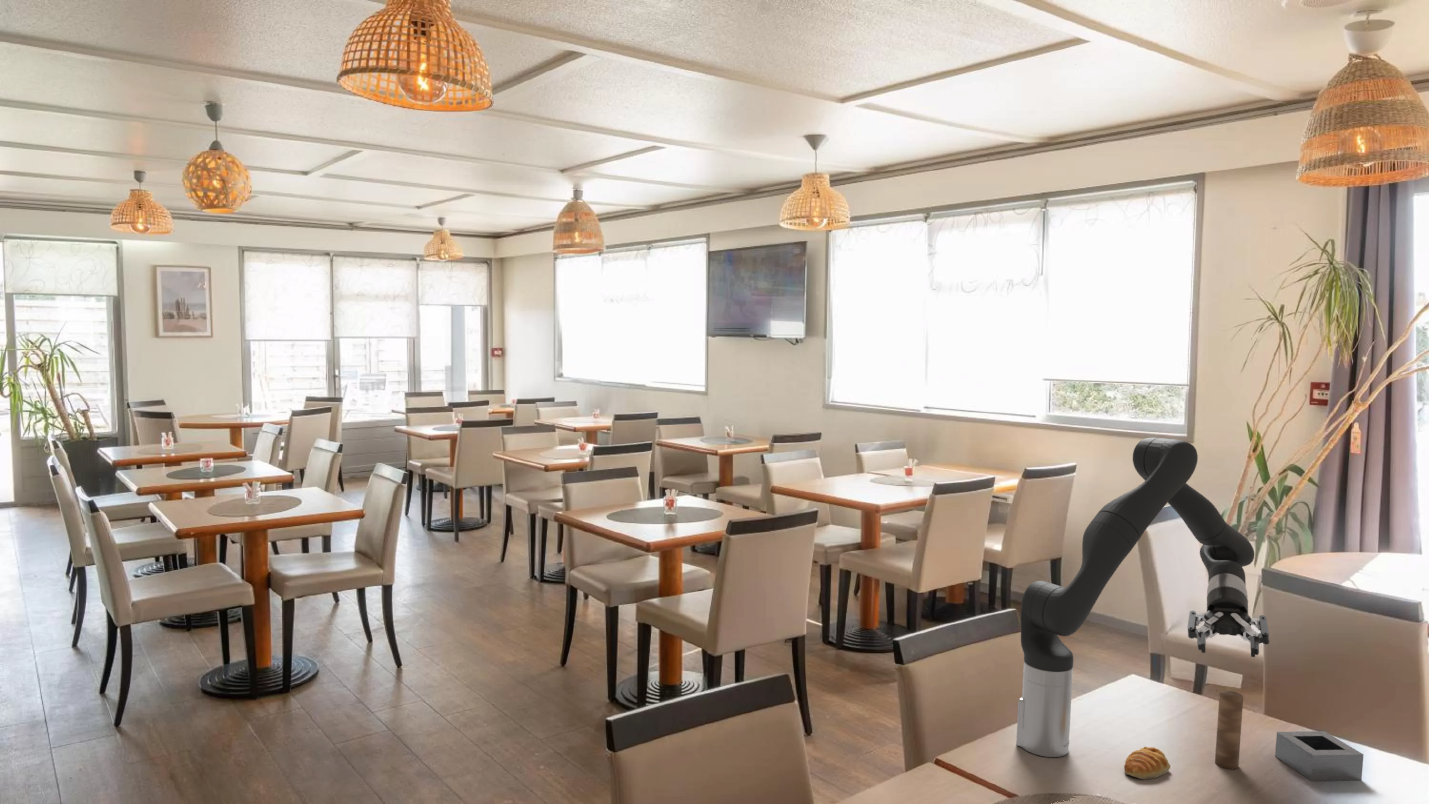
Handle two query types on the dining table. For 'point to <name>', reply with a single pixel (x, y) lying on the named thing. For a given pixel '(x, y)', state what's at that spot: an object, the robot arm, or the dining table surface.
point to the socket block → (1319, 756)
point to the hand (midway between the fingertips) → (1227, 651)
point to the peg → (1229, 729)
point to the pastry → (1146, 763)
